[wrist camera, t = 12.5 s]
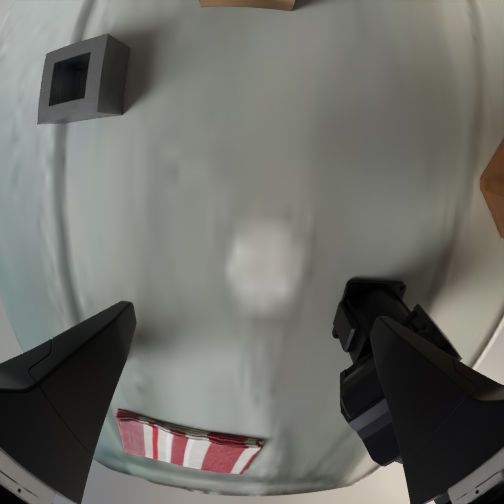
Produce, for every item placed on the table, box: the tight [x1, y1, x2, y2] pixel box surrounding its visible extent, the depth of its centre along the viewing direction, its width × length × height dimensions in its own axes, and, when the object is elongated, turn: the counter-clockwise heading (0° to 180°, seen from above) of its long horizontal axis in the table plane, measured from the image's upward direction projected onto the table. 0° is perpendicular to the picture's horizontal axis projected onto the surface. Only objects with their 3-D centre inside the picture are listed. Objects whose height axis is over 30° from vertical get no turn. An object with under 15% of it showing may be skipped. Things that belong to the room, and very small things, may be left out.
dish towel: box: [116, 409, 264, 474], centre depth 36 cm, size 17×23×3 cm
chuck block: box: [37, 34, 130, 124], centre depth 14 cm, size 6×6×4 cm
